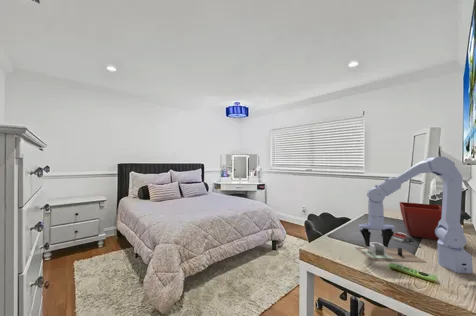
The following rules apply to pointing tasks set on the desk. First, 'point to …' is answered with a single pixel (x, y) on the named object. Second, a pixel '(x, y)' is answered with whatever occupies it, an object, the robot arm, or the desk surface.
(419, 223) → the plant pot
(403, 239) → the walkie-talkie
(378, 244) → the c link
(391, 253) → the stand
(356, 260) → the desk surface
